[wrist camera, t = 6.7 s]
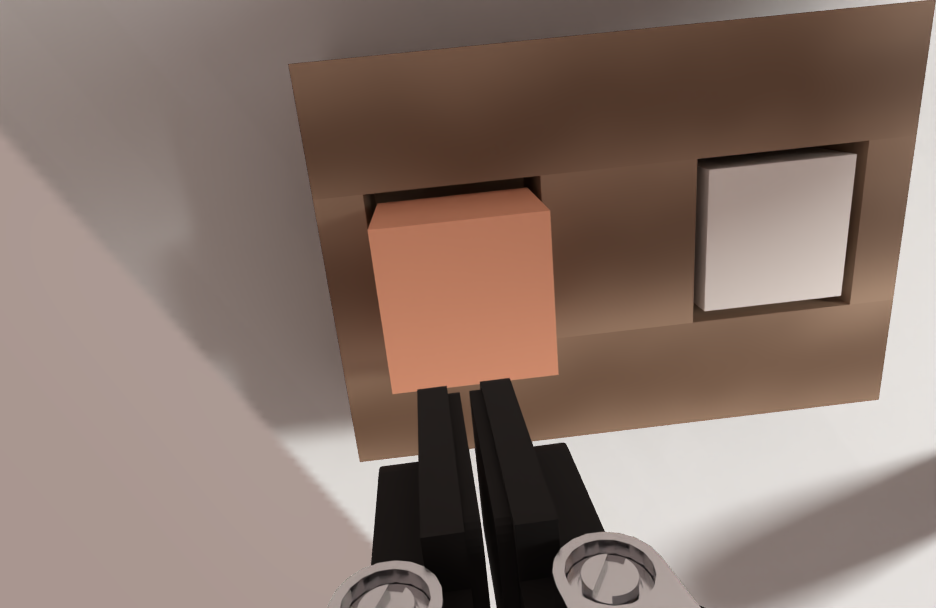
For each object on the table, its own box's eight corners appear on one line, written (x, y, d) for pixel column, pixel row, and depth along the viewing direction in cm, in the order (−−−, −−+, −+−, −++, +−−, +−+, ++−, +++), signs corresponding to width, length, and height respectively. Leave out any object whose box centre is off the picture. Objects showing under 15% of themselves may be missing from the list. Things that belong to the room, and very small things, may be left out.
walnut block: (319, 67, 24) (288, 63, 19) (820, 18, 25) (936, -1, 19) (372, 388, 29) (360, 461, 24) (792, 339, 30) (878, 399, 24)
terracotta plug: (377, 203, 21) (367, 230, 17) (527, 187, 21) (550, 210, 17) (397, 342, 22) (392, 394, 19) (536, 326, 23) (558, 374, 19)
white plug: (665, 156, 24) (709, 170, 21) (790, 143, 25) (857, 154, 21) (663, 278, 26) (704, 311, 22) (781, 265, 26) (841, 295, 23)
